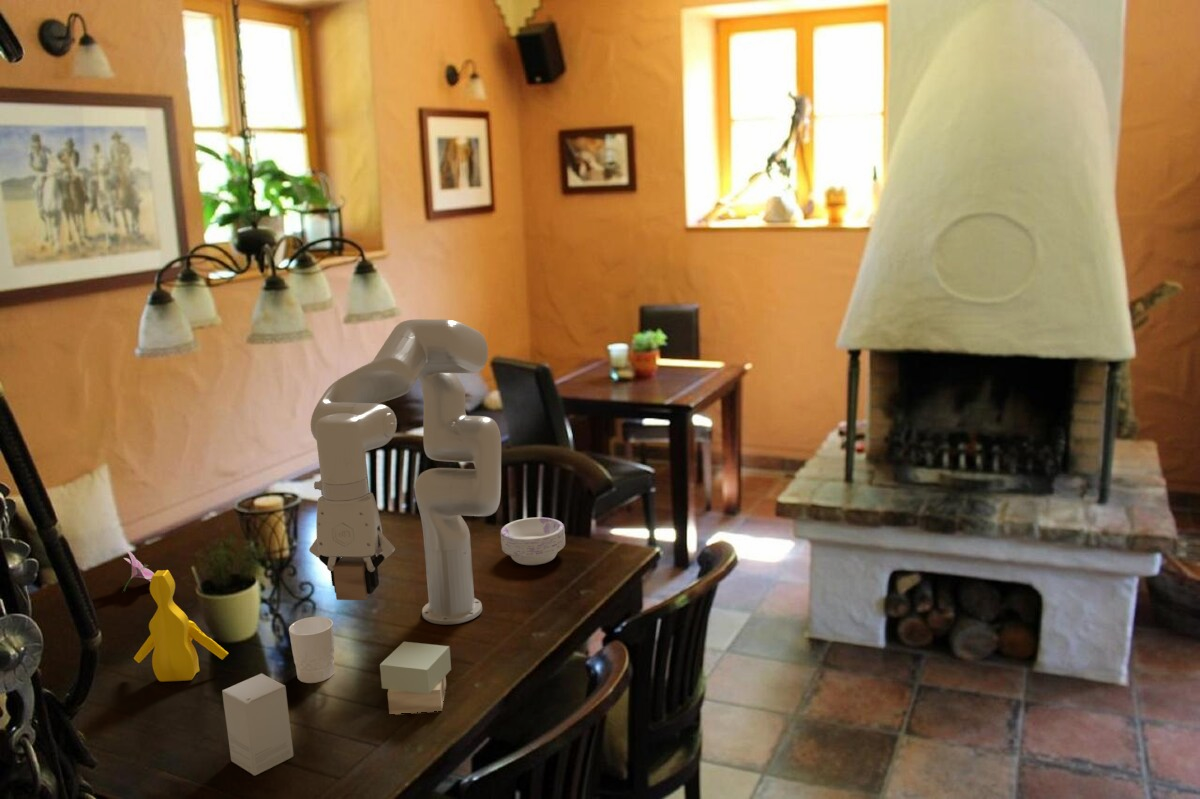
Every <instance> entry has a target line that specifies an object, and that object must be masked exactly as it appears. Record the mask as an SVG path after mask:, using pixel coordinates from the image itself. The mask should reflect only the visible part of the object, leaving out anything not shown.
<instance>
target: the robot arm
mask: <svg viewBox="0 0 1200 799" xmlns="http://www.w3.org/2000/svg"><path fill="white" fill-rule="evenodd" d="M488 359H489V346H488V343H487V341H486V338H485V336H484V335H483V334H482V333H481V332H480V331H479V330H477V329H475V328H473V327H470V326H469V325H466V324H465V323H463V322H460V321H458V320H457V321H456V320H453V319H447V318H446V319H443V318H442V319H441V318H440V319H426V318H425V319H415V318H414V319H406V320H403V321H402V322H399V323H398V324H397V325H396V326H395V327H394V328H393V330H392V331H391V332H390V334H389V335H388V337H387V338H386V340H385V341H384V343H383V345H382V346H381V348H380V349H379V351H377V354H376V355H375V357H374V358H373V360H372V361H371V362H369V363H367V364H364V365H362V366H360V367H358V368H357V369H355V370H352V371H351V372H349V373H347V374H346V375H343V376H342V377H340V378H338V379H337V380H336V381H334V382H333V383H332V384H331V385H330V386H329V387H328V388H327V389H326V390H325V392H324V393H323V395H322V396H321V398H320V399H319V400H318V402H317V404H316V406H315V407H314V409H313V412H312V415H311V418H310V419H311V420H310V432H311V434H312V437H313V438H314V439H315V441H316V448H317V456H318V464H319V466H318V467H319V474H320V480H319V481H314V483H313V488H314V490H319V491H320V492H321V493H320V494H321V496H319V497H318V499H317V506H316V539H315V540H314V541H313V543H312V544H311V546H310V547H309V549H308V550H309V552H310V553H311V554H312V555H314V556H315V557H316V558H318V559H319V561H320V562H322V564H324V565H325V567H326V568H327V570H328V571H329V572H330V578H331V585H332V586H333V587H334V593H335V594H336V590H335V581H334V572H333V566H334V565H335V564H336V563H337V562H338V561H339V560H340V559H341V558H342V557H352V558H363V559H364V561H365V564H366V566H367V571H366V572H365V579H366V589H367V593H368V594H370V595H371V594H372V593H374V591H375V590H376V589H377V587H378V586H379V584H380V579H379V569H378V567H379V566H380V565H381V563H382V562H383V561H385V560H386V559H387V558H388V557H390V556H391V555H392V554H393V553H394V551H396V547H395V546H394V545H393V544H392V543H391V542H390V541H389V539H387V537H386V536H385V535H384V533H383V529H382V523H381V517H380V513H379V508H378V506H377V502H376V499H375V496H374V493H373V492H371V491H370V486H369V476H368V467H367V466H368V465H367V456H366V452H367V451H371V450H374V449H377V448H381V447H384V446H385V445H387V444H389V442H390V441H391V440H392V439H393V437H394V436H395V434H396V432H397V426H398V425H397V424H398V421H397V416H396V414H395V412H394V410H393V409H391V407H389V406H387V405H385V404H382V403H384V402H387V401H390V400H394V399H397V398H399V397H402V396H404V395H406V394H408V392H410V391H411V390H412V388H413V386H414V385H415V383H416V381H417V380H418V382H419V385H420V387H421V391H422V394H423V395H422V397H423V398H422V399H423V427H422V428H423V434H422V435H423V436H422V438H423V449H424V453H425V455H426V457H427V458H429V459H430V460H433V461H438V462H449V463H451V462H453V463H472V464H473V465H474V468H458V467H457V468H456V467H455V468H454V467H436V468H435V467H434V468H429V469H427V470H424V471H423V472H421V473H420V474H419V475H418V477H417V479H416V481H415V485H414V494H415V500H416V503H417V508H418V511H419V514H420V520H421V525H422V533H423V534H422V535H423V536H422V537H423V546H424V558H425V568H426V569H425V570H426V582H427V583H426V584H427V585H426V586H427V594H428V603H426V604H425V605H424V606H423V607H422V609H421V615H422V618H423V619H424V620H425V621H427V622H428V623H431V624H435V625H445V626H446V625H458V624H463V623H466V622H469V621H472V620H474V619H475V618H477V617H478V616H479V615H481V614H482V612H483V604H482V602H481V600H479V599H477V598H476V597H475V592H474V591H475V590H474V575H473V562H472V561H473V560H472V547H471V545H472V544H471V534H470V529H469V526H468V525H467V522H466V521H465V520H464V518H463V517H462V516H468V517H473V516H474V517H489V516H492V515H493V514H495V513H496V512H497V511H498V508H499V506H500V502H501V494H502V491H501V490H502V436H501V432H500V431H501V430H500V428H499V425H498V424H497V422H496V421H495V419H493V418H491V417H489V416H485V415H484V416H482V415H468V414H467V412H466V391H465V388H464V385H463V383H462V382H461V380H460V379H459V377H458V376H457V374H477V373H479V372H481V371H482V370H483V369H484V368H485V366H486V365H487V363H488ZM379 548H381V549H382V551H381V552H380V553H379V554H377V553H378V549H379Z"/></svg>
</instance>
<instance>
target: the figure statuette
mask: <svg viewBox="0 0 1200 799" xmlns="http://www.w3.org/2000/svg"><path fill="white" fill-rule="evenodd" d="M175 590H176V582H175V579H174V577H173V576H172V574H171V572H170V571H169V570H168V569H166V570H164V569H163V570H161V569H160V570H156V571H155V572H154V575H153V576H152V578H151V582H150V584H149V592H150V595H151V596H152V598H153V601H155V603H156V605H157V609H156V611H155V613H154V615H153V617H152V618H151V619H150V621H149V623H148V630H149V632H150V635H149V636H148V637H147V639H146V640H145V642H144V643H143V644H142V645H141V647H140V649H139V650H138V652H136V654H135V655H134V657H133V659H134V660H133V661H136V662H137V663H138V664H139V663H141V662H142V661H143V660H144V659H145V658H147V656H148V654H149V653H150V652H151V651H152V650H153V653H152V658H151V659H152V660H151V663H152V664H151V665H152V669H153V670H152V671H153V672H154V675H155V678H156V679H157V680H158V681H159V682H182V681H184V682H185V681H192V680H193V679H194V677H195V676H196V674H197V673H199V672H200V666H199V656H198V653H197V649H196V647H195V646H194V644H193V642H192V641H193V640H194V641H196V643H198V644H200V645H201V646H203V648H205V649H207V650H208V651H209V652H210V653H212V654H214V655H215V656H217V657H218V658H219V659H221V660H224V659H225V658H226V657H227V656H228V655H229V652H228V651H227V650H225V649H224V648H223V647H222V646H221V645H219V644H218V643H217V642H216V641H215V640H213V639H212V638H211V637H209V636H207V635H206V634H205V633H204V632H203V631H202V630H201V629H200V627H199V626H198V625H197V623H195V622H194V621H192V620H190V619H189V617H188V615H187V614H186V613H185V612H184V611H183V610H182V609H181V608H180V606H178V605H177V604H176V603H175V602H174V600H173V596H174V594H175Z"/></svg>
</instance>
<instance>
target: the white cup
mask: <svg viewBox="0 0 1200 799" xmlns="http://www.w3.org/2000/svg"><path fill="white" fill-rule="evenodd" d="M288 632H289V637H290V638H289V639H290V644H291V651H292V656H293V663H294V664H295V670H296V676H297V679H298V680H299V681H300V682H301V683H306V684H316V683H320V682H324V681H326V680H328V679H331V678H332V676H333V675H334V674H335V642H334V641H335V637H334V622H333V620H332V619H331V618H329V617H327V616H310V617H305V618H301V619H299V620H297V621H294V622H293V623H292V624H291V625H290V626H289V627H288Z"/></svg>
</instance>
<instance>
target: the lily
mask: <svg viewBox="0 0 1200 799" xmlns="http://www.w3.org/2000/svg"><path fill="white" fill-rule="evenodd" d="M122 547H123V548H124V550H125V551H126V552H127V553H128V555H129V558H130V559H131V560H130V559H129V558H127V557H123V559H124V560H125V561H127V563H129V564H130V565H131V577H130V578H129V579H128V581H127V582H126V584H125V586H124V588H123V590H122V592H123V591H124V592H126V589H127V586H128V585H129V583H130V582H131V580H132V579H133V578H138V579H146V580H147V581H149V582H150V583H151V578H152V576H153V575H154V574H155V572H153V571H152V570H150V569H149V568H148V567H149V566H150V565H148V564H146V563H144V565H143V564H142V562H141V561H139V560H138V559H137V558H136V557H135V555H134V554H133V553H132V552H131V550H129V549H128V548H127V547H126V546H124V545H122Z"/></svg>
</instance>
